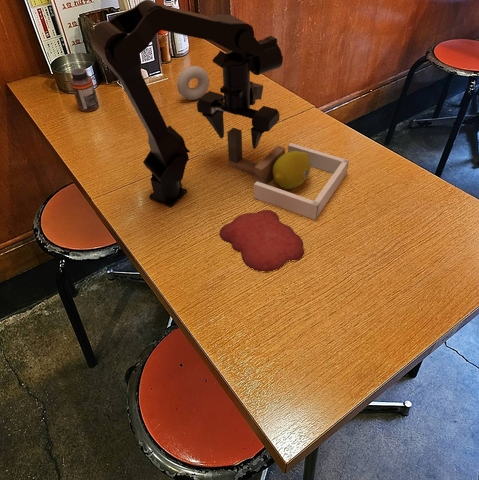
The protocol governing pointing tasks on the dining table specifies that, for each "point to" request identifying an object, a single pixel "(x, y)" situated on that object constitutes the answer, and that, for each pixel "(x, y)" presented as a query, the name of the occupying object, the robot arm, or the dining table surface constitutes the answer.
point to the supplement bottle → (84, 90)
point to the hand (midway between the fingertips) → (238, 142)
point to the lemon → (291, 169)
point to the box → (301, 203)
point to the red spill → (263, 240)
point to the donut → (185, 79)
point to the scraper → (260, 170)
